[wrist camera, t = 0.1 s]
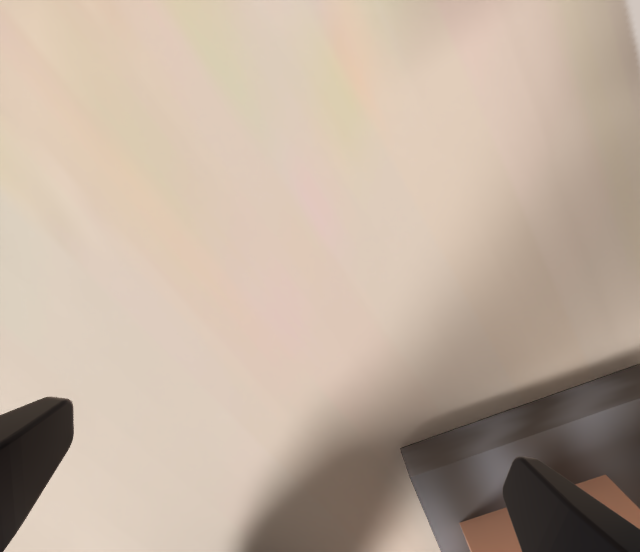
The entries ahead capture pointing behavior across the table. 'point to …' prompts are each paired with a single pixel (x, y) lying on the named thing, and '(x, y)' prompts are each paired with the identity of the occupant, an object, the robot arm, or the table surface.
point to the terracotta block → (498, 532)
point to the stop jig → (529, 451)
